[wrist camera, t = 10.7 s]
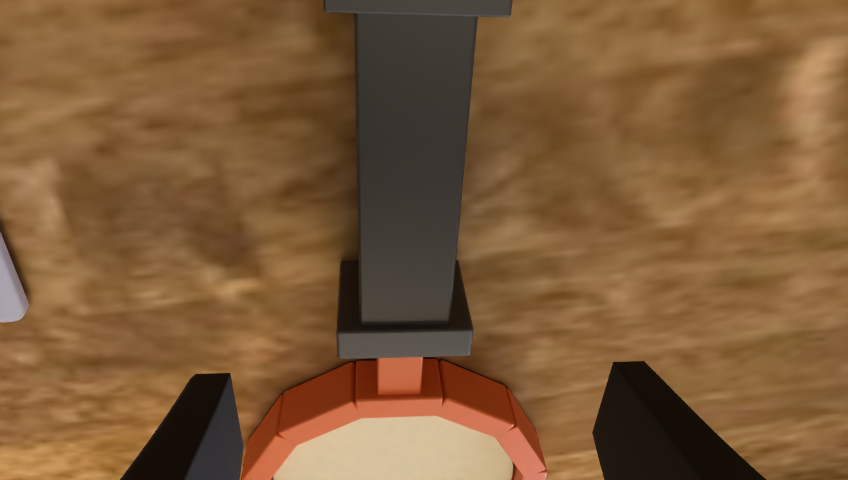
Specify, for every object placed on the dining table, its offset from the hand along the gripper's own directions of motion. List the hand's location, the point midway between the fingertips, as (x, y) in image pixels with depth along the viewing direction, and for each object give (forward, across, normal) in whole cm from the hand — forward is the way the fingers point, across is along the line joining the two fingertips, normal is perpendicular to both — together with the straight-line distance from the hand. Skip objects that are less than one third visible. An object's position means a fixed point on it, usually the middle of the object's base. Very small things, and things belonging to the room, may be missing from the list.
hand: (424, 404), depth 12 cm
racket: (+7, 0, +5) cm, 9 cm away
